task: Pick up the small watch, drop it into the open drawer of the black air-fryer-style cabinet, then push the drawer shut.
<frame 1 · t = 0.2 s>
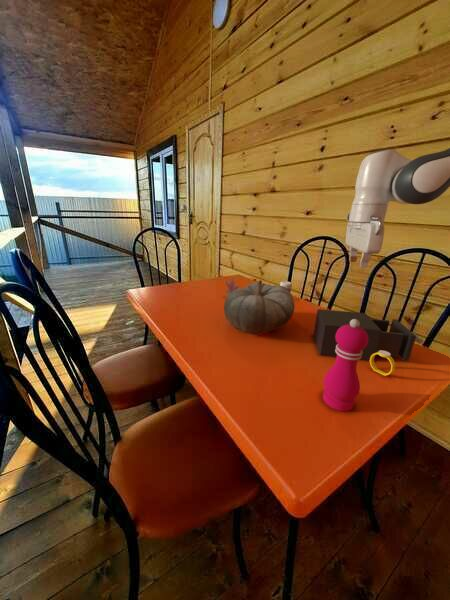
hand: (357, 264, 76), 26 cm above the table, tool pointing down, fingers open, 8 cm apart
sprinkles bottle: (282, 314, 105), on the table
drawer: (385, 337, 77), point 5 cm above the table, slide at 8.0 cm
gourd: (256, 327, 92), on the table
cabinet: (340, 347, 80), on the table
lily: (232, 299, 121), on the table
pepper mill: (337, 401, 57), on the table
watch: (379, 373, 68), on the table
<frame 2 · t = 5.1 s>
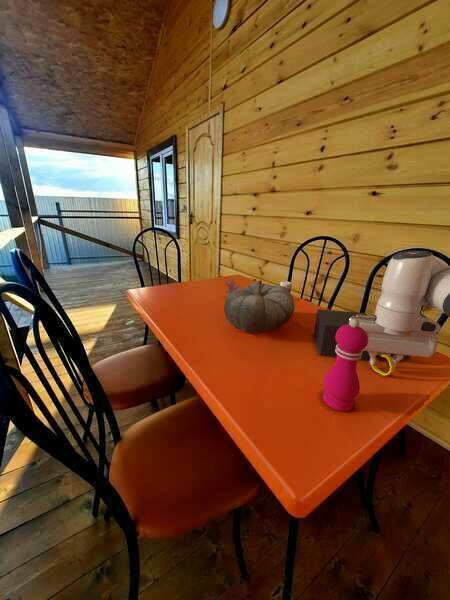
hand: (381, 365, 67), 2 cm above the table, tool pointing down, fingers closed on watch, 3 cm apart
watch: (379, 373, 68), on the table, touching gripper
everything else where it was.
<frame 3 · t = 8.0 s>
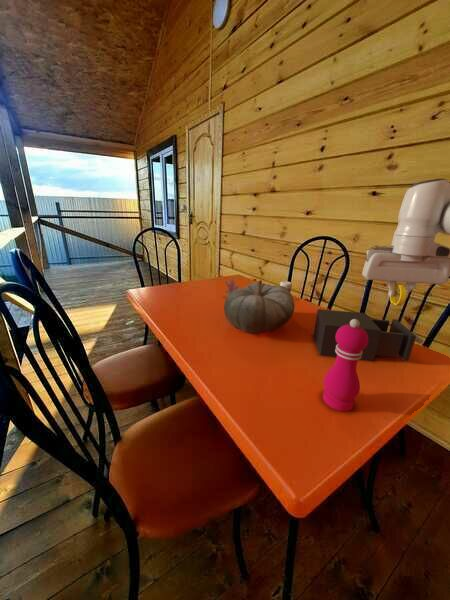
hand: (397, 296, 71), 18 cm above the table, tool pointing down, fingers closed on watch
watch: (395, 304, 72), point 16 cm above the table, touching gripper
everything else where it was.
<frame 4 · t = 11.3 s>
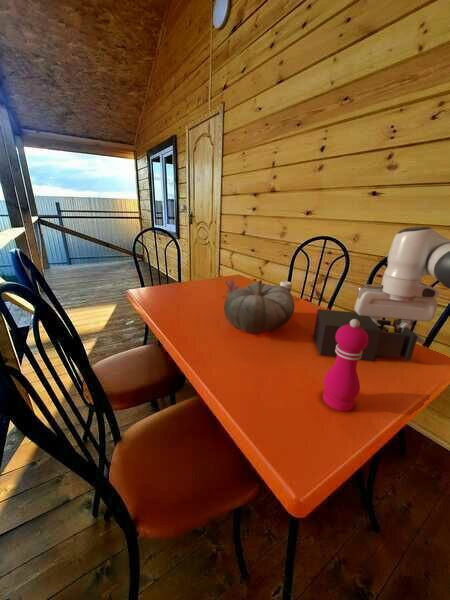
hand: (387, 330, 76), 7 cm above the table, tool pointing down, fingers open, 5 cm apart
drawer: (386, 337, 77), point 5 cm above the table, slide at 8.5 cm, touching gripper, watch
watch: (385, 345, 77), point 2 cm above the table, touching drawer
everything else where it was.
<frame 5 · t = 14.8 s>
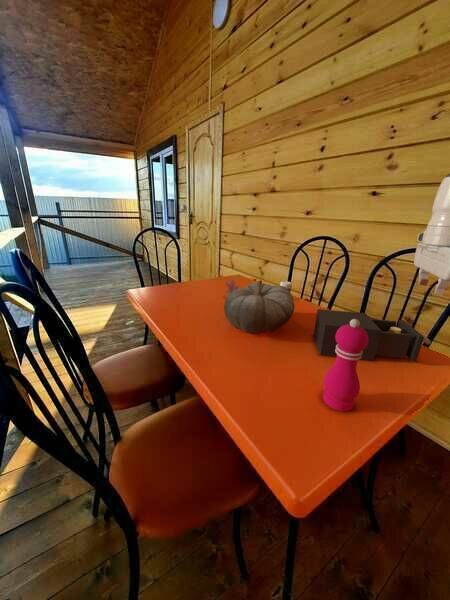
hand: (429, 289, 70), 21 cm above the table, tool pointing down, fingers open, 8 cm apart
drawer: (392, 338, 76), point 5 cm above the table, slide at 10.0 cm, touching watch
watch: (391, 347, 77), point 2 cm above the table, touching drawer
everything else where it was.
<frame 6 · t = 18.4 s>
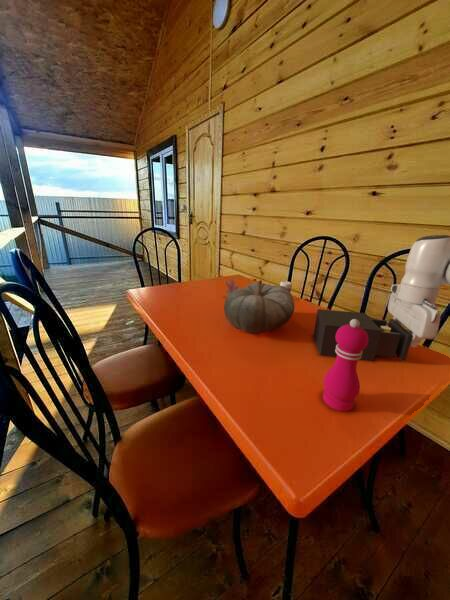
hand: (403, 338, 76), 5 cm above the table, tool pointing down
drawer: (382, 337, 77), point 5 cm above the table, slide at 7.2 cm, touching gripper, watch
watch: (381, 345, 78), point 2 cm above the table, touching drawer
everything else where it was.
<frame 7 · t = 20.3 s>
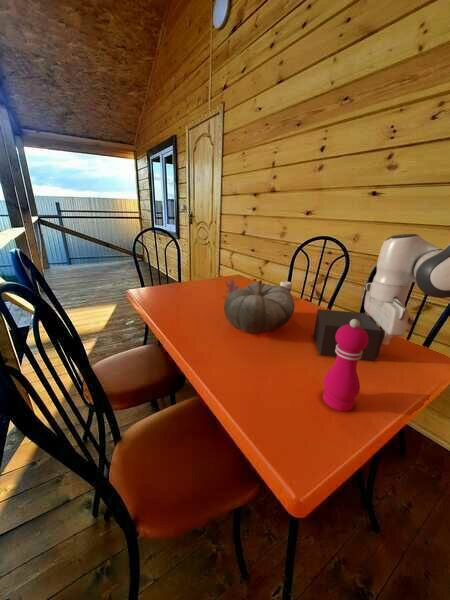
hand: (377, 335, 77), 5 cm above the table, tool pointing down
drawer: (357, 334, 78), point 5 cm above the table, slide at 0.0 cm, touching cabinet, gripper, watch
watch: (356, 343, 79), point 2 cm above the table, touching drawer
everything else where it was.
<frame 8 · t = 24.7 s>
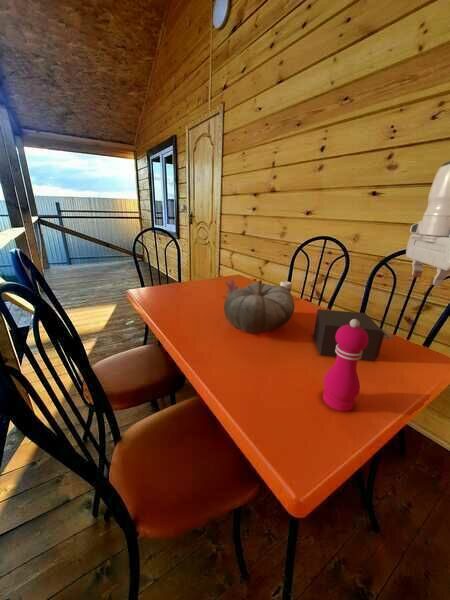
hand: (425, 280, 70), 23 cm above the table, tool pointing down, fingers open, 8 cm apart
drawer: (357, 334, 78), point 5 cm above the table, slide at 0.0 cm, touching watch
everything else where it was.
at the end: watch inside the target area in the cabinet (4.2 cm from its centre), point 1.9 cm above the cabinet's base; drawer slide at 0.0 cm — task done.
